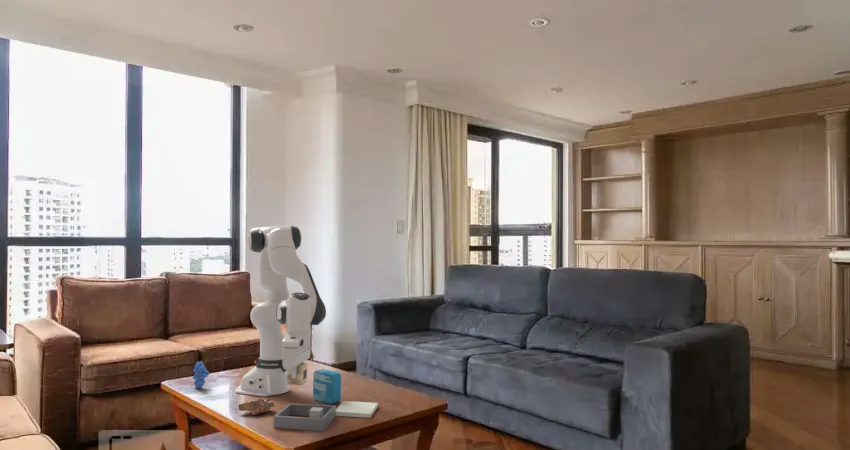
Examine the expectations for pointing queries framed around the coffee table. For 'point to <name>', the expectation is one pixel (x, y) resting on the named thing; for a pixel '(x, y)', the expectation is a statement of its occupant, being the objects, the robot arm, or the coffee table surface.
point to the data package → (327, 386)
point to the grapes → (200, 374)
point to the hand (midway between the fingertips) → (296, 376)
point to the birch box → (298, 375)
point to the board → (356, 409)
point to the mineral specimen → (257, 406)
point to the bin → (303, 423)
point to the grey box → (316, 412)
